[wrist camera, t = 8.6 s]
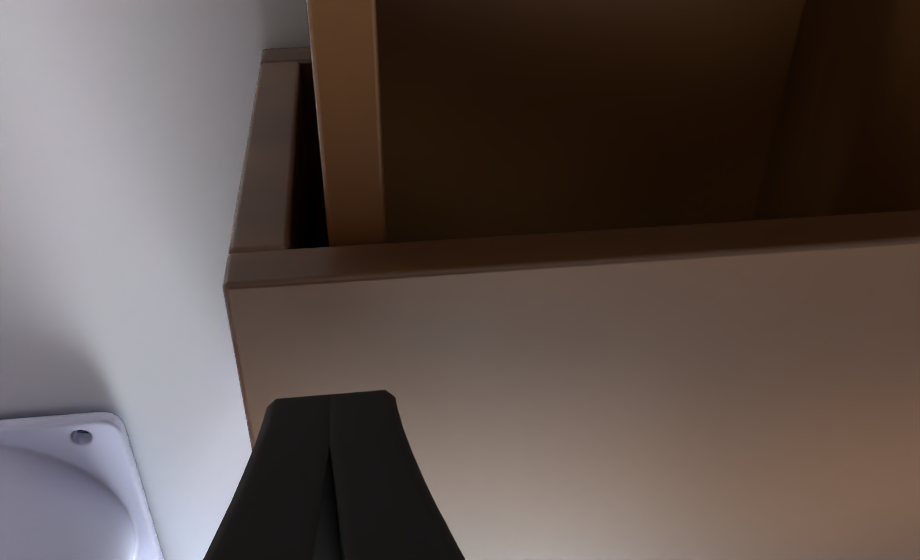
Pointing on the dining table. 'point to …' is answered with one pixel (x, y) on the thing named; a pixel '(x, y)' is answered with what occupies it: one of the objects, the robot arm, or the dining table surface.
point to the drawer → (610, 113)
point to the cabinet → (599, 365)
